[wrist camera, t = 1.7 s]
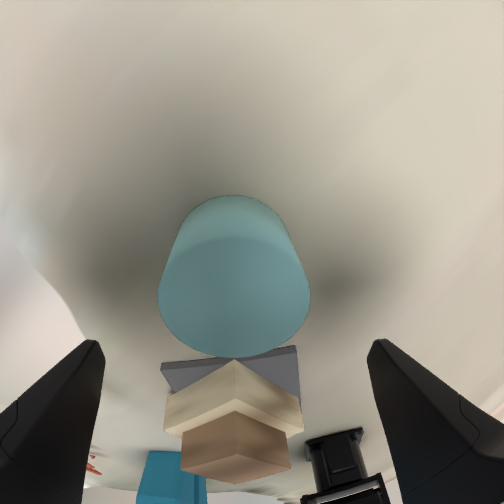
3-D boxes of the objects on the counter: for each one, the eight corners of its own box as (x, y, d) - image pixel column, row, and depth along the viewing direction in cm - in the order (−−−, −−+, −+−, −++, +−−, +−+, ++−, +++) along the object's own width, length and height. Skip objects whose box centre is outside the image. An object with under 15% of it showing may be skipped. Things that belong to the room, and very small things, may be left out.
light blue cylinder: (293, 285, 16) (312, 345, 12) (193, 302, 16) (184, 364, 12) (281, 185, 13) (305, 223, 9) (163, 207, 13) (135, 254, 9)
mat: (300, 411, 22) (301, 416, 22) (199, 423, 22) (199, 429, 22) (294, 345, 18) (296, 352, 17) (161, 363, 18) (160, 370, 17)
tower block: (285, 432, 17) (291, 468, 14) (233, 451, 18) (235, 484, 16) (235, 410, 15) (237, 454, 13) (182, 432, 17) (180, 469, 14)
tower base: (298, 397, 20) (304, 430, 17) (232, 428, 22) (233, 457, 19) (234, 359, 17) (235, 398, 15) (167, 397, 19) (162, 430, 16)
